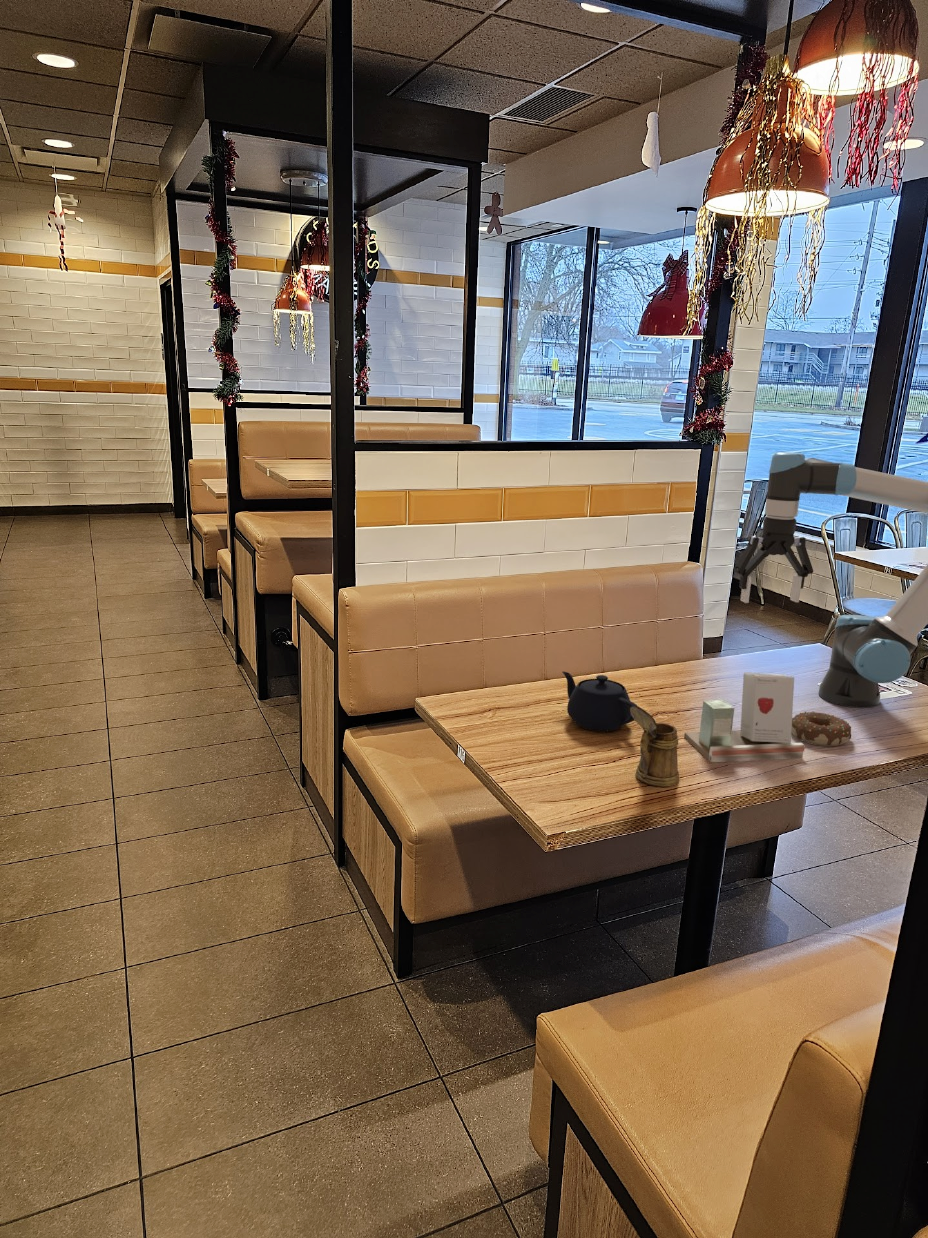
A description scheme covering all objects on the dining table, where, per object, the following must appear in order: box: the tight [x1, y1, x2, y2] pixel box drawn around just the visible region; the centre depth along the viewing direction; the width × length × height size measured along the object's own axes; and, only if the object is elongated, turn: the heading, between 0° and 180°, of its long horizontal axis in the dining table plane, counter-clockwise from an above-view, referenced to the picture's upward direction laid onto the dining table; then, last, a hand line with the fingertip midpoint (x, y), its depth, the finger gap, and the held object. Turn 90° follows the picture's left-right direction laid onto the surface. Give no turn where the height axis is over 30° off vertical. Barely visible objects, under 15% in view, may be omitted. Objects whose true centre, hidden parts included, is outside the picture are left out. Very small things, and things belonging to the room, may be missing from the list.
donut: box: [791, 711, 852, 747], centre depth 199 cm, size 14×14×5 cm
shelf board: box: [683, 729, 806, 763], centre depth 191 cm, size 22×14×3 cm, turn 100°
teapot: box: [562, 671, 638, 733], centre depth 202 cm, size 25×16×12 cm, turn 37°
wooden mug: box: [630, 705, 680, 788], centre depth 171 cm, size 9×14×18 cm, turn 128°
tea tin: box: [699, 699, 735, 751], centre depth 188 cm, size 5×5×10 cm
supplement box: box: [739, 672, 795, 743], centre depth 190 cm, size 9×9×15 cm
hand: (769, 601), depth 209 cm, fingers open, 13 cm apart
